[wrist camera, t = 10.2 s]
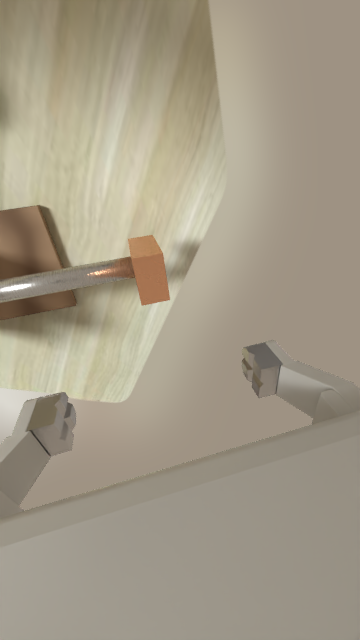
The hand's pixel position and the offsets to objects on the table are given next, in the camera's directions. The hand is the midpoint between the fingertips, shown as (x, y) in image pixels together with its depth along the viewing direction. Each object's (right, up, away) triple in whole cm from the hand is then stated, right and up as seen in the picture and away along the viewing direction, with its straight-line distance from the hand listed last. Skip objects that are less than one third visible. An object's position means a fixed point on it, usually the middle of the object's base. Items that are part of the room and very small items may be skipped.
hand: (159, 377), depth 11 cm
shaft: (-14, +8, +18) cm, 25 cm away
